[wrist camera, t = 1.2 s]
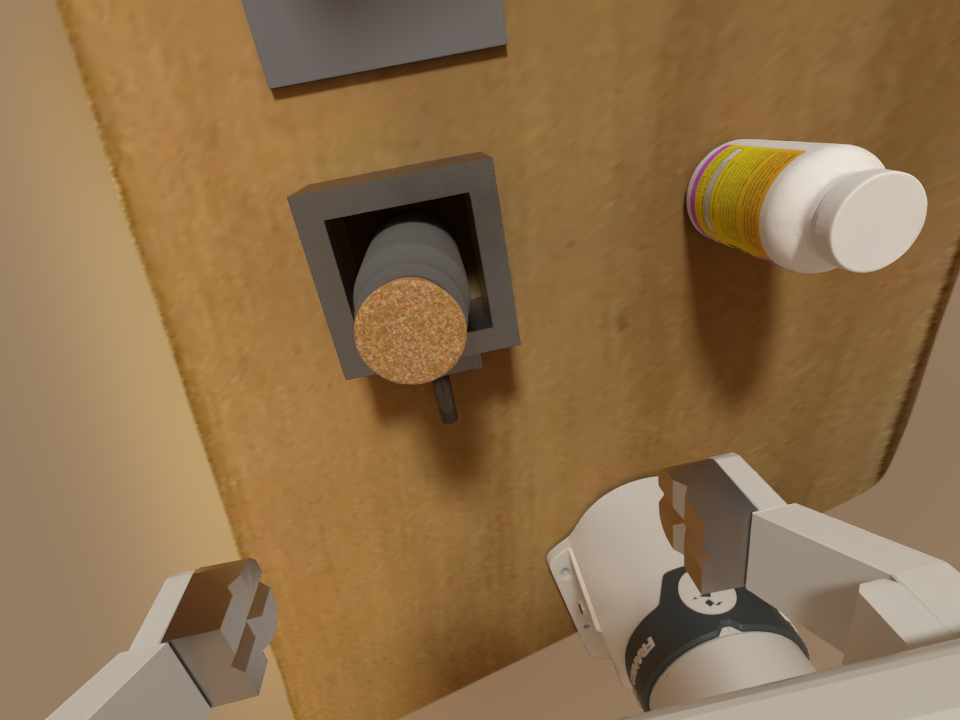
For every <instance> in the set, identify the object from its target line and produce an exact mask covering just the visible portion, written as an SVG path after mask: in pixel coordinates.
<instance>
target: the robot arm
mask: <svg viewBox="0 0 960 720" xmlns="http://www.w3.org/2000/svg"><path fill="white" fill-rule="evenodd" d="M546 560H547V563H548V566H549V568H550V570H551V572H552V575H553V577H554V579H555V581H556V583H557V586H558V588H559V590H560V592H561V595H562V597H563V599H564V601H565V603H566V606H567V608H568V610H569V612H570V615H571V617H572V619H573V621H574V623H575V626H576V628H577V630H578V632H579V635H580V637H581V639H582V641H583V643H584V646H585V648H586V650H587V652H588V654H589V655H590V656H592V657H595V658H601V659H611V660H612V661H613V663H614V666H615V669H616V672H617V674H618V677H619V680H620V683H621V684H622V685H623V686H624V687H626V688H627V689H630V690H633V692H634V695H635V697H636V699H637V701H638V703H639V705H640V706H641V708H642V709H643V710H644V713H640V714H635V715H631V716H627V717H623V718H619V719H614V720H960V573H959V572H958V571H956V570H955V569H954V568H953V567H952V566H951V565H949V564H948V563H947V562H944V561H942V560H939V559H937V558H934V557H932V556H929V555H926V554H924V553H921V552H919V551H916V550H914V549H911V548H909V547H906V546H904V545H901V544H899V543H896V542H893V541H891V540H888V539H886V538H883V537H881V536H878V535H875V534H873V533H870V532H868V531H865V530H863V529H860V528H858V527H855V526H853V525H850V524H847V523H844V522H842V521H840V520H837V519H835V518H832V517H830V516H827V515H824V514H822V513H819V512H817V511H814V510H812V509H809V508H807V507H804V506H801V505H799V504H796V503H794V504H789V505H788V504H787V503H786V502H785V501H784V500H783V499H782V498H781V497H780V496H779V495H778V494H777V493H776V492H775V491H774V490H773V489H772V488H771V487H770V486H769V485H768V484H767V483H766V482H765V481H764V480H763V479H762V478H761V477H760V476H759V475H758V474H757V473H756V472H755V471H754V470H753V469H752V468H751V467H750V466H749V465H748V464H747V463H746V462H745V461H744V460H743V459H742V458H741V457H740V456H739V455H738V454H736V453H733V452H732V453H727V454H723V455H719V456H715V457H710V458H708V459H703V460H699V461H695V462H690V463H686V464H681V465H677V466H672V467H668V468H663V469H660V472H659V475H658V477H650V478H644V479H640V480H636V481H633V482H630V483H627V484H625V485H623V486H620V487H618V488H616V489H614V490H613V491H611V492H609V493H608V494H606V495H604V496H603V497H602V498H600V499H599V500H598V501H597V502H595V503H594V504H593V505H592V506H591V507H590V508H589V509H588V510H587V511H586V513H585V514H584V515H583V516H582V518H581V519H580V521H579V522H578V524H577V525H576V527H575V529H574V530H573V531H572V533H571V534H570V535H569V536H568V537H567V538H566V539H564V540H563V541H562V542H560V543H559V544H558V545H556V546H555V547H554V548H553V549H552V550H551V551H550V552H549V553H548V555H547V558H546ZM564 568H565V569H564ZM261 574H262V570H261V568H260V567H259V565H258V563H257V561H256V560H255V559H250V558H248V559H243V560H238V561H233V562H228V563H222V564H217V565H213V566H207V567H202V568H199V569H194V570H189V571H184V572H178V573H174V574H172V575H171V576H170V577H168V578H167V579H166V581H165V583H164V585H163V587H162V588H161V590H160V592H159V594H158V596H157V598H156V600H155V602H154V603H153V605H152V607H151V609H150V611H149V613H148V615H147V617H146V619H145V621H144V623H143V624H142V626H141V628H140V630H139V632H138V634H137V636H136V637H135V639H134V641H133V643H132V645H131V647H130V649H129V651H126V652H122V653H119V654H118V655H117V656H116V657H115V658H114V659H113V660H111V661H110V662H109V663H108V664H107V665H106V666H105V667H104V668H102V669H101V670H100V671H99V672H98V673H97V674H96V675H95V676H94V677H92V678H91V679H90V680H89V681H88V682H87V683H86V684H84V685H83V686H82V687H81V688H80V689H79V690H78V691H77V692H75V693H74V694H73V695H72V696H71V697H70V698H69V699H68V700H67V701H65V702H64V703H63V704H62V705H61V706H60V707H59V708H58V709H56V710H55V711H54V712H53V713H52V714H51V715H50V716H49V717H47V718H46V719H45V720H205V719H206V718H207V716H208V715H209V714H210V712H211V711H212V709H211V708H212V707H216V706H220V705H224V704H228V703H232V702H235V701H239V700H243V699H247V698H251V697H255V696H258V695H259V692H260V688H261V684H262V680H263V677H264V673H265V669H266V665H267V662H268V660H267V658H266V656H265V654H264V652H263V650H264V649H265V648H266V647H267V645H268V644H269V643H270V642H271V641H272V640H273V638H274V634H275V630H276V626H277V606H276V602H275V597H274V595H273V593H272V591H271V588H270V587H268V586H266V585H264V584H262V583H261V582H259V580H260V577H261ZM786 615H787V616H788V617H790V618H791V619H793V620H794V621H796V622H797V623H799V624H800V625H802V626H803V627H805V628H806V629H808V630H809V631H811V632H812V633H814V634H815V635H817V636H818V637H820V638H821V639H823V640H825V641H826V642H827V643H829V644H830V645H832V646H833V647H835V648H837V649H838V650H839V651H841V652H842V653H844V658H843V663H842V666H839V667H835V668H830V669H827V670H822V671H818V672H817V671H816V670H815V668H814V667H813V665H812V664H811V663H810V661H809V654H808V650H807V648H806V646H805V644H804V643H803V641H802V640H801V638H800V637H799V635H798V632H797V630H796V628H795V627H794V625H793V624H792V623H791V621H790V620H789V618H788V617H787V616H786Z"/></svg>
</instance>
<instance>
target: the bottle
mask: <svg viewBox="0 0 960 720" xmlns="http://www.w3.org/2000/svg"><path fill="white" fill-rule="evenodd" d="M353 302H354V309H355V313H354V319H355V323H354V339H355V344H356V347H357V350H358V352H359V354H360V356H361V358H362V359H363V361H364V362H365V364H366V365H367V366H368V367H369V368H370V369H371V370H372V371H374V372H375V373H376V374H378V375H379V376H381V377H383V378H384V379H387V380H389V381H392V382H395V383H399V384H405V385H416V384H423V383H427V382H431V381H433V380H436V379H438V378H440V377H441V376H443V375H445V374H446V373H447V372H449V371H450V370H451V369H452V368H453V367H454V366H455V364H456V363H457V362H458V361H459V359H460V357H461V356H462V354H463V351H464V349H465V345H466V341H467V326H468V314H469V310H470V302H471V297H470V288H469V283H468V279H467V276H466V272H465V269H464V266H463V262H462V259H461V256H460V253H459V250H458V247H457V244H456V241H455V238H454V236H453V234H452V232H451V230H450V229H449V228H448V227H447V225H446V224H445V223H444V222H443V221H442V220H440V219H439V218H437V217H436V216H434V215H433V214H430V213H427V212H425V211H420V210H406V211H401V212H398V213H395V214H393V215H392V216H390V217H388V218H387V219H386V220H385V221H383V222H382V223H381V224H380V226H379V227H378V229H377V230H376V232H375V234H374V236H373V238H372V240H371V242H370V245H369V247H368V249H367V252H366V254H365V257H364V259H363V262H362V265H361V267H360V270H359V273H358V275H357V278H356V282H355V286H354V294H353Z"/></svg>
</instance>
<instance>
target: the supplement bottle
mask: <svg viewBox="0 0 960 720" xmlns="http://www.w3.org/2000/svg"><path fill="white" fill-rule="evenodd" d="M686 205H687V211H688V215H689V218H690V220H691V222H692V224H693V225H694V227H695V228H696V229H697V230H698V231H699V232H700V233H701V234H702V235H704V236H706V237H707V238H709V239H712V240H714V241H716V242H719V243H722V244H724V245H727V246H729V247H732V248H734V249H737V250H739V251H742V252H745V253H747V254H750V255H752V256H755V257H757V258H760V259H763V260H765V261H768V262H770V263H773V264H775V265H778V266H780V267H783V268H785V269H788V270H791V271H794V272H799V273H821V272H826V271H830V270H832V269H835V268H838V267H839V268H842V269H845V270H848V271H851V272H857V273H866V272H872V271H876V270H879V269H881V268H884V267H886V266H888V265H889V264H891V263H892V262H894V261H895V260H897V259H898V258H899V257H901V256H902V255H903V254H904V253H905V252H906V251H907V250H908V249H909V248H910V246H911V245H912V244H913V243H914V241H915V240H916V238H917V237H918V235H919V233H920V231H921V229H922V227H923V224H924V221H925V218H926V212H927V198H926V193H925V190H924V188H923V186H922V185H921V183H920V182H919V181H918V180H917V179H916V178H915V177H913V176H912V175H910V174H908V173H904V172H900V171H893V170H887V169H885V167H884V166H883V164H882V163H881V162H880V160H879V159H878V158H877V157H876V156H875V155H873V154H872V153H870V152H869V151H867V150H865V149H863V148H861V147H858V146H853V145H847V144H834V143H810V142H794V141H776V140H757V139H739V140H734V141H730V142H727V143H725V144H723V145H721V146H719V147H717V148H716V149H714V150H713V151H711V152H710V153H709V154H708V155H707V156H706V157H705V158H704V159H703V160H702V161H701V162H700V163H699V165H698V166H697V168H696V169H695V171H694V173H693V175H692V177H691V179H690V182H689V185H688V189H687V195H686Z"/></svg>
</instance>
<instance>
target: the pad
mask: <svg viewBox="0 0 960 720" xmlns="http://www.w3.org/2000/svg"><path fill="white" fill-rule="evenodd" d="M242 3H243V6H244V10H245V13H246V16H247V19H248V23H249V26H250V29H251V32H252V36H253V39H254V42H255V45H256V49H257V52H258V55H259V58H260V61H261V65H262V68H263V71H264V74H265V78H266V81H267V84H268V87H269V89H275V88H280V87H285V86H291V85H296V84H301V83H307V82H312V81H317V80H323V79H328V78H333V77H339V76H344V75H349V74H354V73H360V72H365V71H370V70H376V69H381V68H386V67H392V66H397V65H402V64H407V63H413V62H418V61H423V60H429V59H434V58H439V57H445V56H450V55H455V54H460V53H466V52H471V51H476V50H482V49H487V48H492V47H498V46H503V45H506V44H507V37H506V29H505V22H504V14H503V6H502V0H242Z"/></svg>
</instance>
